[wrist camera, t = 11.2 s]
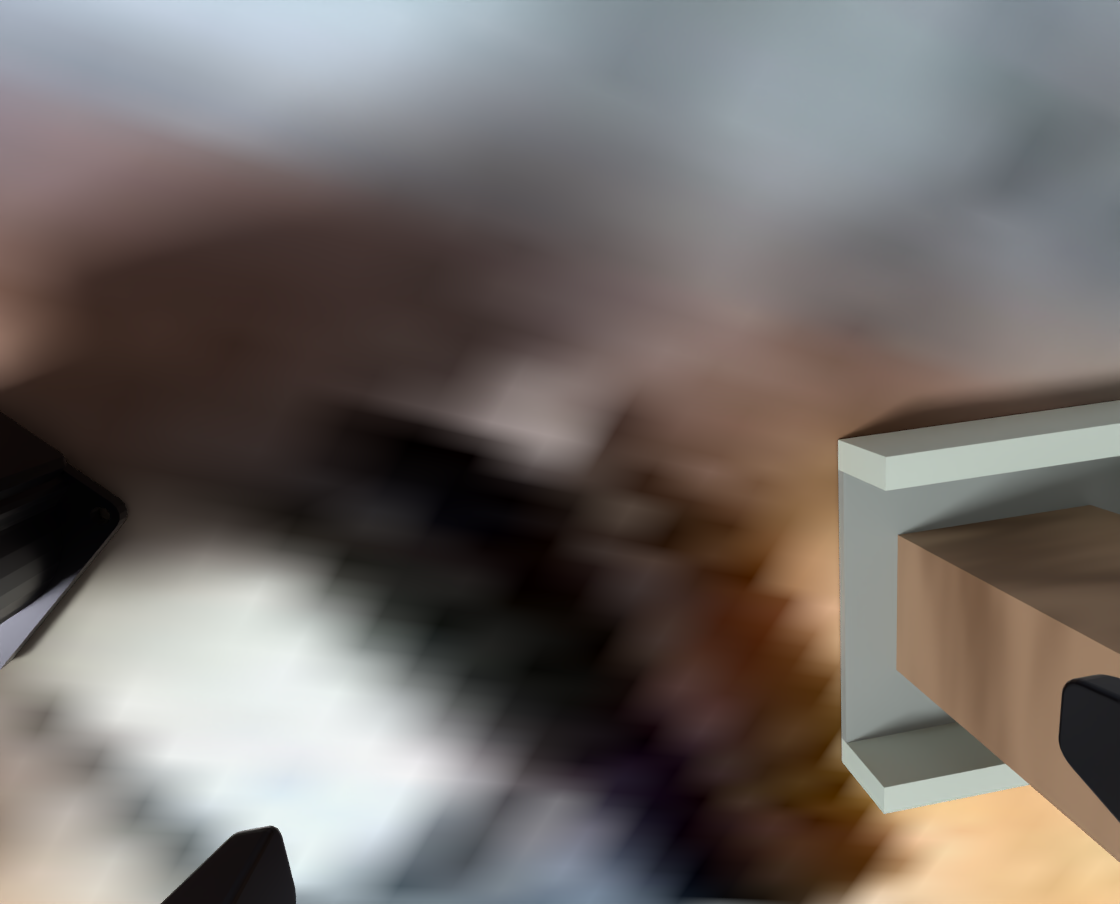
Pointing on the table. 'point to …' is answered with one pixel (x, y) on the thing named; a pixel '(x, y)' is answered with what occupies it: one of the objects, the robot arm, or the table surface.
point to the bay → (925, 504)
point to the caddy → (1015, 636)
